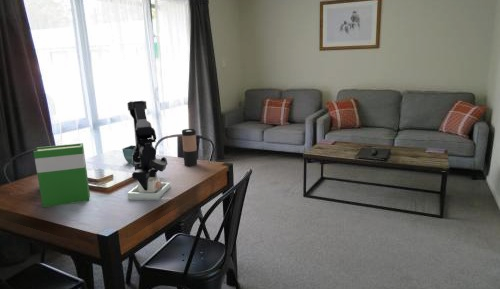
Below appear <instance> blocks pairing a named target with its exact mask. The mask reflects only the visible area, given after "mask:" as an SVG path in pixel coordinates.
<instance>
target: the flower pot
mask: <svg viewBox="0 0 500 289" xmlns="http://www.w3.org/2000/svg"><path fill="white" fill-rule="evenodd" d="M135 146H136V145H133V144H132V145H129V146H126V147H123V148H122V154H123V157H124V160H125V161H126V162H127V164H133V162H132V154H133V149H134V147H135ZM134 162H135V161H134Z"/></svg>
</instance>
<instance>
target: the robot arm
mask: <svg viewBox="0 0 500 289" xmlns="http://www.w3.org/2000/svg"><path fill="white" fill-rule="evenodd" d="M126 105H127V111H128V112H129V114H130V116H131V117H132V119H133V128H134V139H135V145H134V146H135V147H134V149H133V154H132V162H133V163H132V166H133V167H134V171H133V172H132V173H131V177H132V179H134V180H136V181H137V182H139V183H140V184H141V186H142V187H143V189H144V190H145V191H147V188H148V179H149V178H150V177H156V173H157V172H164V171H165V170H166V167H167V166H168V165H169V164H168V163H169V162H168V161H167V157H165V156H162V157H161V158H157V156H156V155H157V151H156V148H155V147H154V146H153V143H156V140H157V135H156V131H155V129H154V127H152V123H151V122H150V121H149V120H148V118H147V114H146V110H147V109H148V107H147V101H145V100H143V99H141V100H140V99H139V100H129V102H127V104H126ZM134 161H135V162H134Z"/></svg>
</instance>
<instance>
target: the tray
mask: <svg viewBox="0 0 500 289" xmlns="http://www.w3.org/2000/svg"><path fill="white" fill-rule="evenodd" d="M160 188H161V189H159V190H158V191H157V192H154V193H153V192H139V188H138V184H136V186H134V187H133V188H131V189H130V190H129V191H128V192H127V200H135V201H137V200H138V201H160V200H161V199H162V198H163V197H164V196H163V195H164V194H165V193H166V192H167V191H168V190H169V189H170V188H171V182H164V183H163V182H161V187H160Z"/></svg>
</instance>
